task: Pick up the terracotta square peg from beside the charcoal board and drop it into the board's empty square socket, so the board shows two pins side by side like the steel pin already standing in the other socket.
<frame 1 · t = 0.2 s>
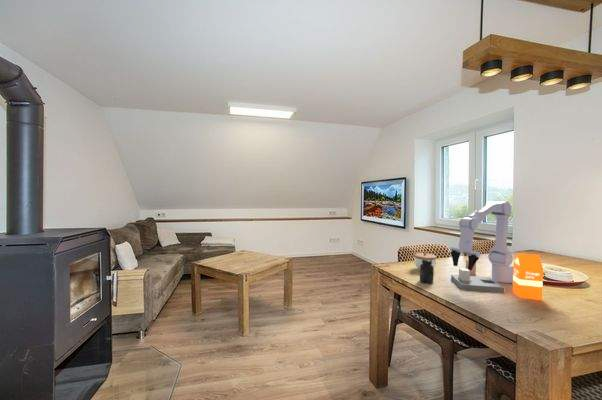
hand: (462, 268, 139), 11 cm above the table, tool pointing down, fingers open, 7 cm apart
peg: (470, 273, 164), on the table
orange juice: (526, 296, 130), on the table
lidded bowl: (424, 270, 172), on the table
socket board: (475, 285, 144), on the table
supplement bottle: (426, 282, 149), on the table
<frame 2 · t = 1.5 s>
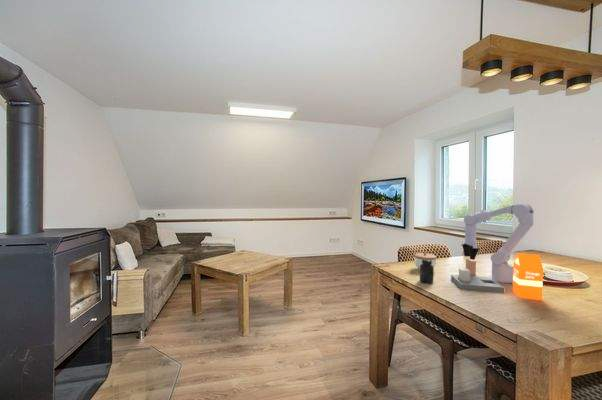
hand: (469, 257, 164), 9 cm above the table, tool pointing down, fingers open, 7 cm apart
nothing on the table moved.
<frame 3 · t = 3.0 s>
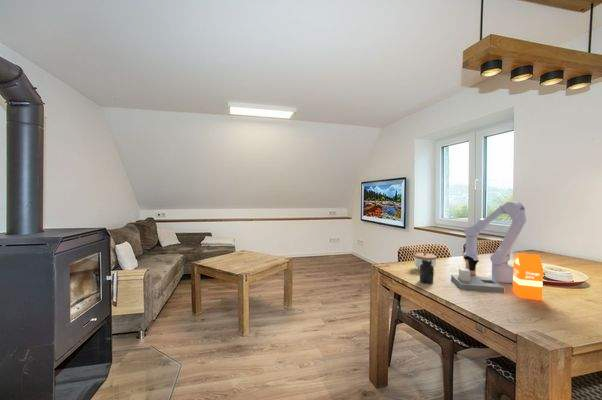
hand: (470, 269, 164), 2 cm above the table, tool pointing down, fingers closed on peg, 4 cm apart
peg: (470, 273, 164), on the table, touching gripper
everything else where it was.
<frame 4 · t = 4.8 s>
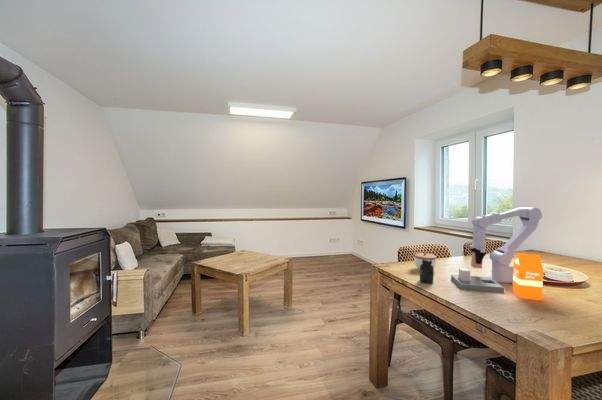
hand: (476, 262, 153), 9 cm above the table, tool pointing down, fingers closed on peg, 4 cm apart
peg: (476, 267, 153), point 7 cm above the table, touching gripper
everything else where it was.
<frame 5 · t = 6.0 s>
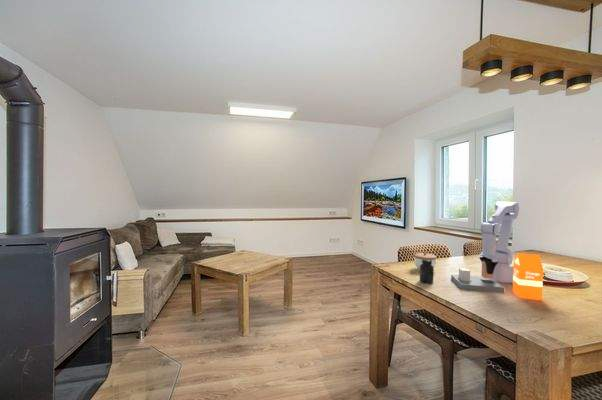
hand: (488, 272, 142), 7 cm above the table, tool pointing down, fingers closed on peg, 4 cm apart
peg: (487, 277, 142), point 5 cm above the table, touching gripper
everything else where it was.
when the fingers open (3 cm above the table, at t = 7.0 s): peg stays where it is, resting in socket board.
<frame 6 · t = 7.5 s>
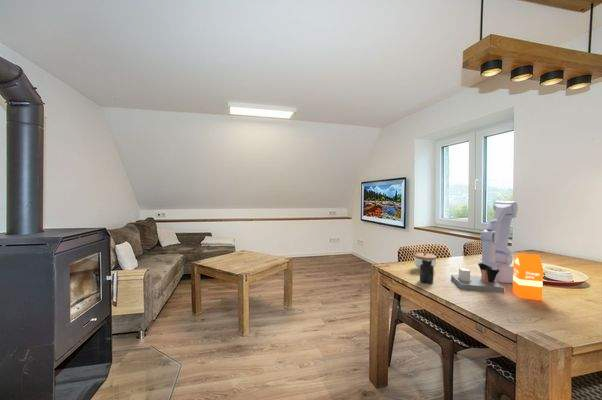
hand: (487, 279, 142), 3 cm above the table, tool pointing down, fingers open, 7 cm apart
peg: (487, 286, 143), resting in socket board
everything else where it was.
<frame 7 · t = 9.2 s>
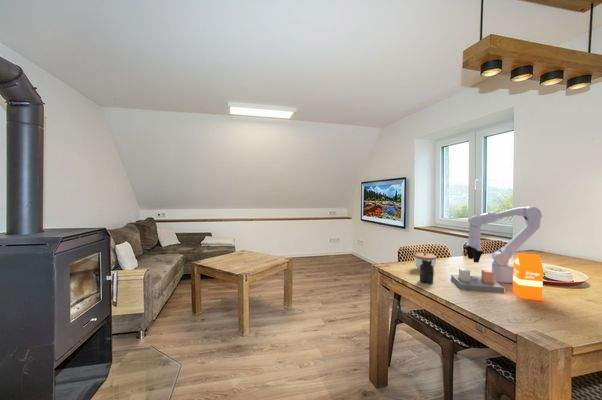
hand: (473, 260, 157), 9 cm above the table, tool pointing down, fingers open, 7 cm apart
nothing on the table moved.
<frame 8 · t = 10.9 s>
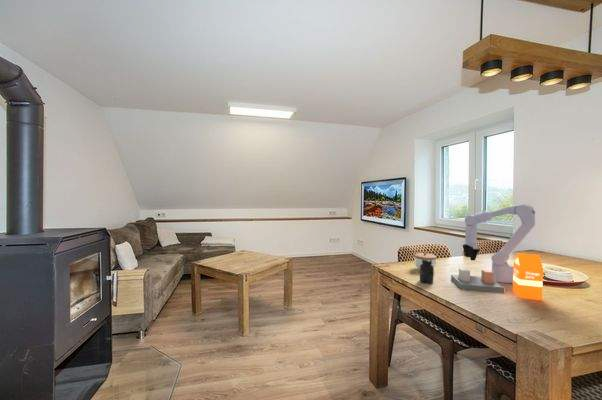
hand: (470, 258, 162), 9 cm above the table, tool pointing down, fingers open, 7 cm apart
nothing on the table moved.
at the end: peg 0.2 cm from the target spot on the socket board, point 0.0 cm above the socket board's base; peg tilted 0°; the gripper is holding nothing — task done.
